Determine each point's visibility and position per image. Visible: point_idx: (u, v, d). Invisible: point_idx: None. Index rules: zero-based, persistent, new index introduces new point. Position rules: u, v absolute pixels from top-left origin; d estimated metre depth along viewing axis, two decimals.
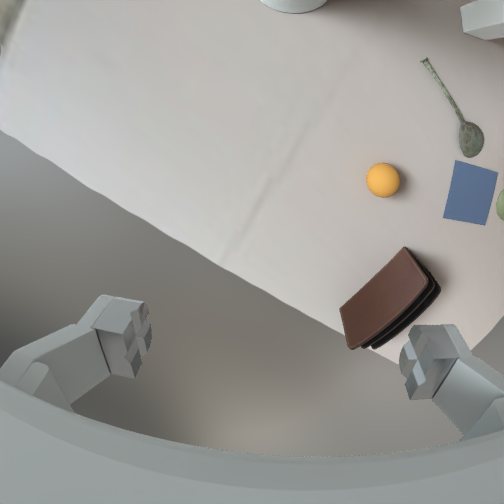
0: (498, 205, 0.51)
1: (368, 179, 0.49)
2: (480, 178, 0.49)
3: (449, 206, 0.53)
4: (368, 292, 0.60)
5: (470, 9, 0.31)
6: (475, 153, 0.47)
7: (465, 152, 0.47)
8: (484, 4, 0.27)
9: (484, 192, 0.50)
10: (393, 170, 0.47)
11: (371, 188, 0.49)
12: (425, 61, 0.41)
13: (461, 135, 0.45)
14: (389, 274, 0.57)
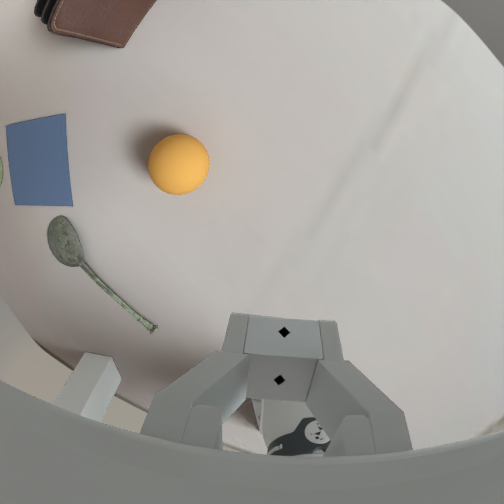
0: None
1: (205, 165, 0.28)
2: (32, 189, 0.35)
3: (60, 134, 0.31)
4: None
5: (111, 389, 0.46)
6: (52, 226, 0.36)
7: (66, 225, 0.36)
8: (100, 411, 0.41)
9: (21, 172, 0.34)
10: (163, 190, 0.29)
11: (198, 151, 0.27)
12: (151, 328, 0.42)
13: (78, 248, 0.37)
14: None
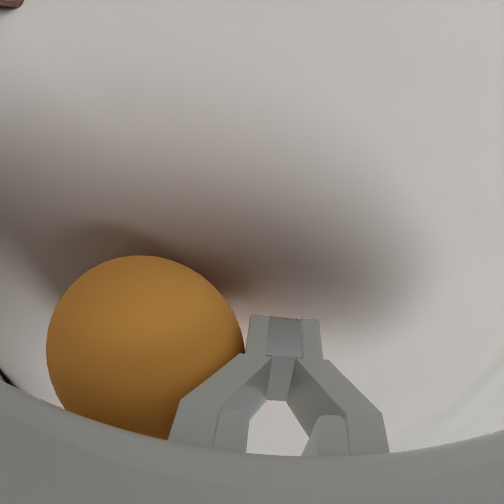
0: None
1: None
2: None
3: None
4: None
5: None
6: None
7: None
8: None
9: None
10: None
11: (195, 362, 0.06)
12: None
13: None
14: None
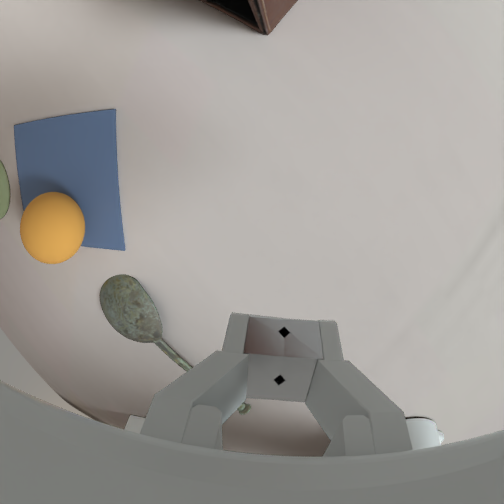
0: (3, 176, 0.23)
1: (83, 216, 0.23)
2: None
3: (106, 142, 0.21)
4: None
5: None
6: (112, 288, 0.27)
7: (138, 292, 0.27)
8: None
9: (38, 195, 0.24)
10: (51, 260, 0.21)
11: (74, 202, 0.22)
12: (242, 409, 0.33)
13: (157, 323, 0.28)
14: None
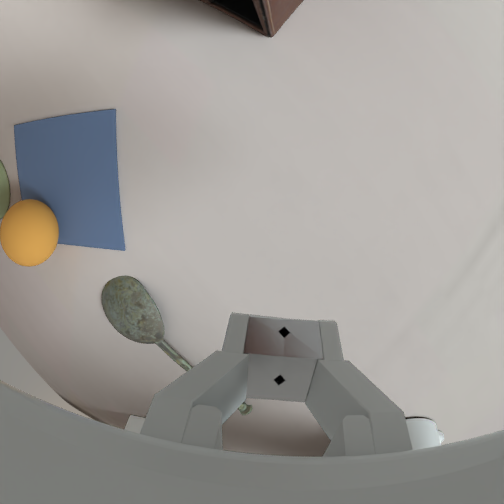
0: (3, 176, 0.23)
1: (38, 236, 0.21)
2: None
3: (106, 142, 0.21)
4: None
5: None
6: (114, 289, 0.27)
7: (140, 293, 0.27)
8: None
9: (38, 195, 0.24)
10: None
11: (26, 222, 0.20)
12: (244, 409, 0.34)
13: (159, 324, 0.28)
14: None
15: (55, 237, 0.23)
